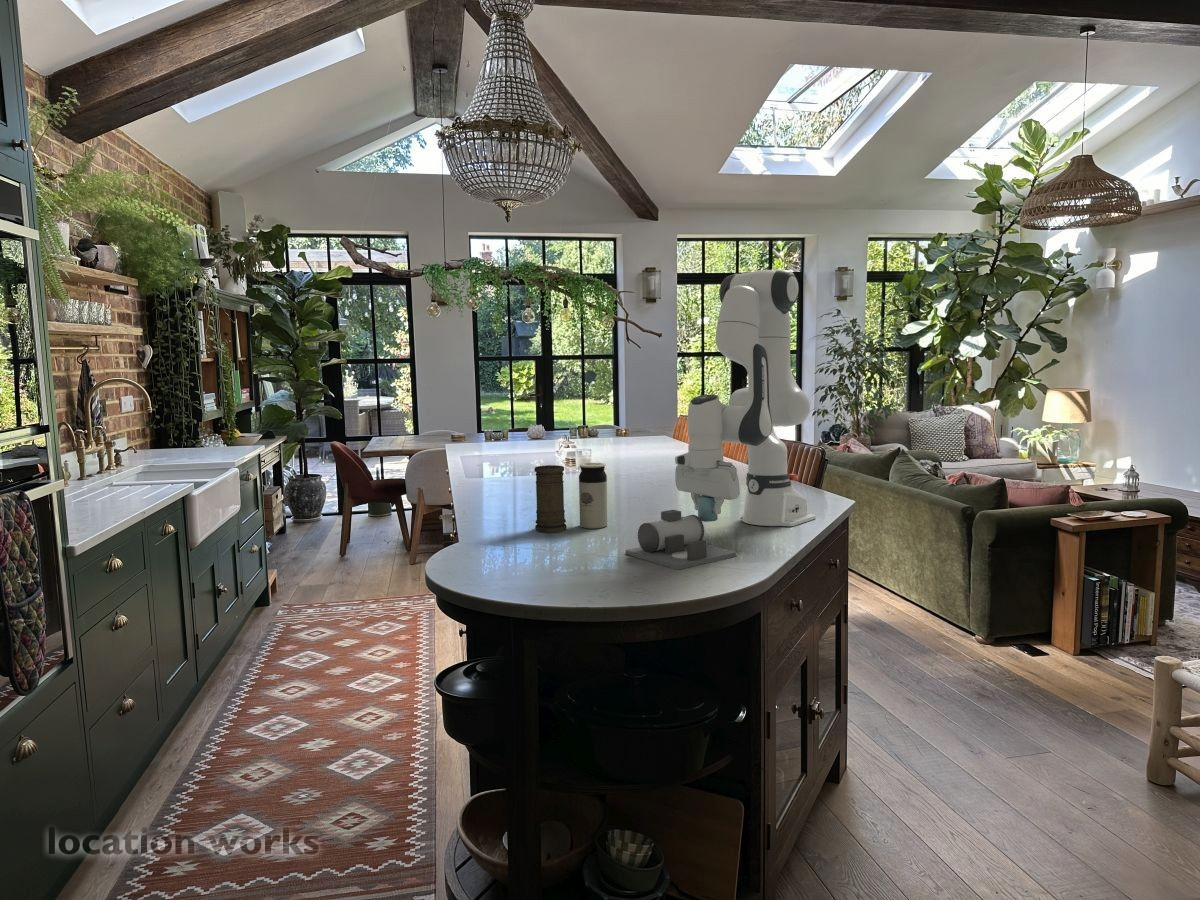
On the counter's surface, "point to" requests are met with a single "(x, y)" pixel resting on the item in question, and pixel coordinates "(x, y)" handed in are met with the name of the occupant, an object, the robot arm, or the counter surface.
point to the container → (550, 499)
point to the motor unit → (676, 542)
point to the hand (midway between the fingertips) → (707, 511)
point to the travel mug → (593, 495)
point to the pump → (706, 508)
